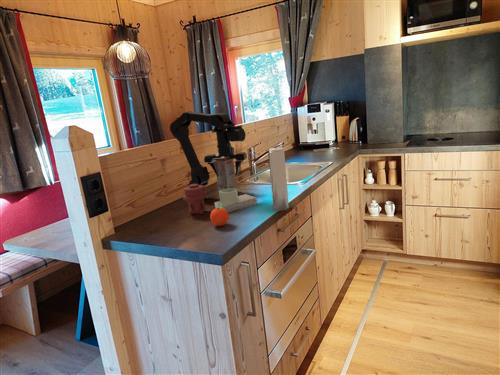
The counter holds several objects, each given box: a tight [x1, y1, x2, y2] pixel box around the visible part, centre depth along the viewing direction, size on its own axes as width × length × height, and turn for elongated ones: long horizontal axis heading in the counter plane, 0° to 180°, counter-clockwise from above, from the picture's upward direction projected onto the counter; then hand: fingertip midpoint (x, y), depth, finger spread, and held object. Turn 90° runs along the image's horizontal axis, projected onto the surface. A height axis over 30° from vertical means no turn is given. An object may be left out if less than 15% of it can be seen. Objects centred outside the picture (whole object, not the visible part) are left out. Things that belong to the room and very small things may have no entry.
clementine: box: [209, 207, 230, 227], centre depth 136 cm, size 8×7×7 cm
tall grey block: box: [267, 147, 290, 212], centre depth 146 cm, size 6×6×25 cm
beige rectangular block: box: [214, 193, 258, 213], centre depth 157 cm, size 9×16×6 cm, turn 123°
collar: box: [218, 188, 239, 204], centre depth 155 cm, size 8×8×5 cm
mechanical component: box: [182, 184, 208, 215], centre depth 154 cm, size 12×10×10 cm
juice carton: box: [215, 152, 238, 192], centre depth 181 cm, size 7×7×22 cm
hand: (227, 175), depth 165 cm, fingers open, 9 cm apart
